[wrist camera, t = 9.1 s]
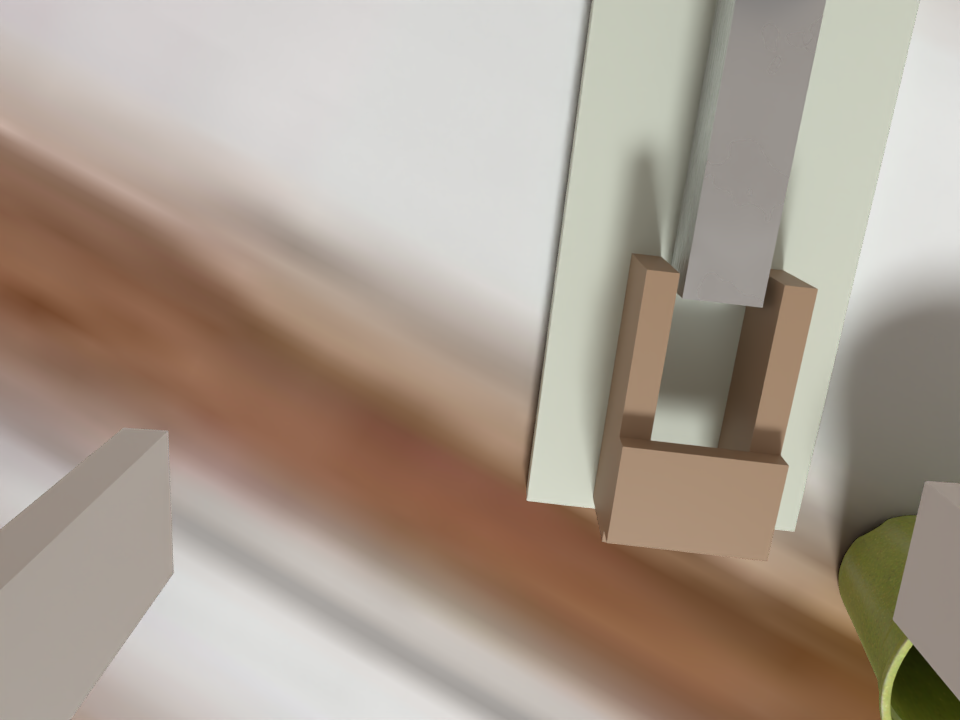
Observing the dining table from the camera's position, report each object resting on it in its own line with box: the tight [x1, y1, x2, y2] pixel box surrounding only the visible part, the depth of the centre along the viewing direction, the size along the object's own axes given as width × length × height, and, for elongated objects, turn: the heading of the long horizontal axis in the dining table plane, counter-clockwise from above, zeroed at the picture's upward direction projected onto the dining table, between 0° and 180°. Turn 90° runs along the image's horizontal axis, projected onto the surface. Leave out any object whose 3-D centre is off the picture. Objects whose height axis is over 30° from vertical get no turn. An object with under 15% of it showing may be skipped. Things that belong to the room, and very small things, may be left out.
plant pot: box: [839, 515, 960, 720], centre depth 34 cm, size 9×9×9 cm
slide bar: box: [671, 0, 826, 308], centre depth 27 cm, size 3×17×9 cm, turn 174°
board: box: [526, 0, 920, 561], centre depth 31 cm, size 12×30×6 cm, turn 174°
